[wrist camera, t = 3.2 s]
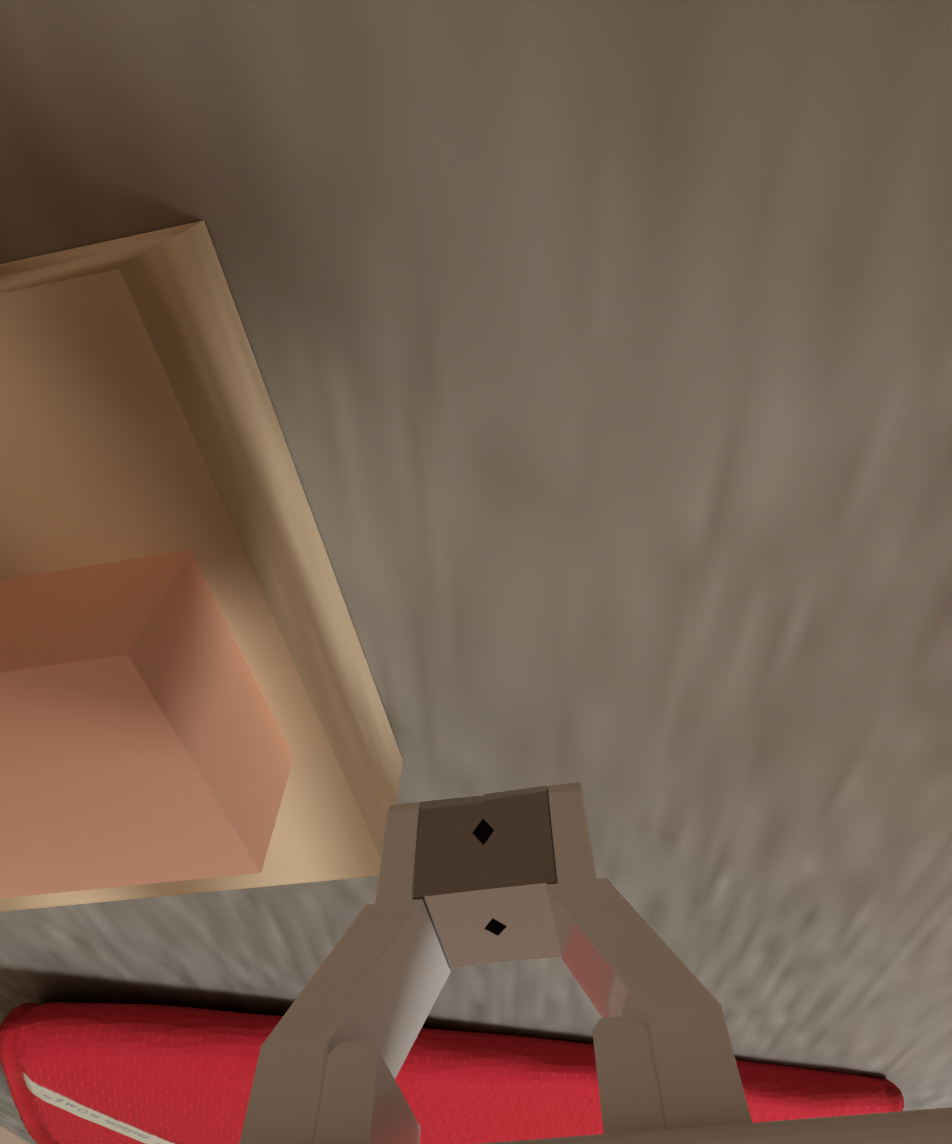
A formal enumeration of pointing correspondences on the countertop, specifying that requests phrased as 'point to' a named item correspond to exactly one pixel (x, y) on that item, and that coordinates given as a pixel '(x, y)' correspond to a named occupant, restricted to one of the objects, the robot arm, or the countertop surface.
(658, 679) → the countertop surface
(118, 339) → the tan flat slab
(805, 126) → the countertop surface
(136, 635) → the block
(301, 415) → the countertop surface
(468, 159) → the countertop surface
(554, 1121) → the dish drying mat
